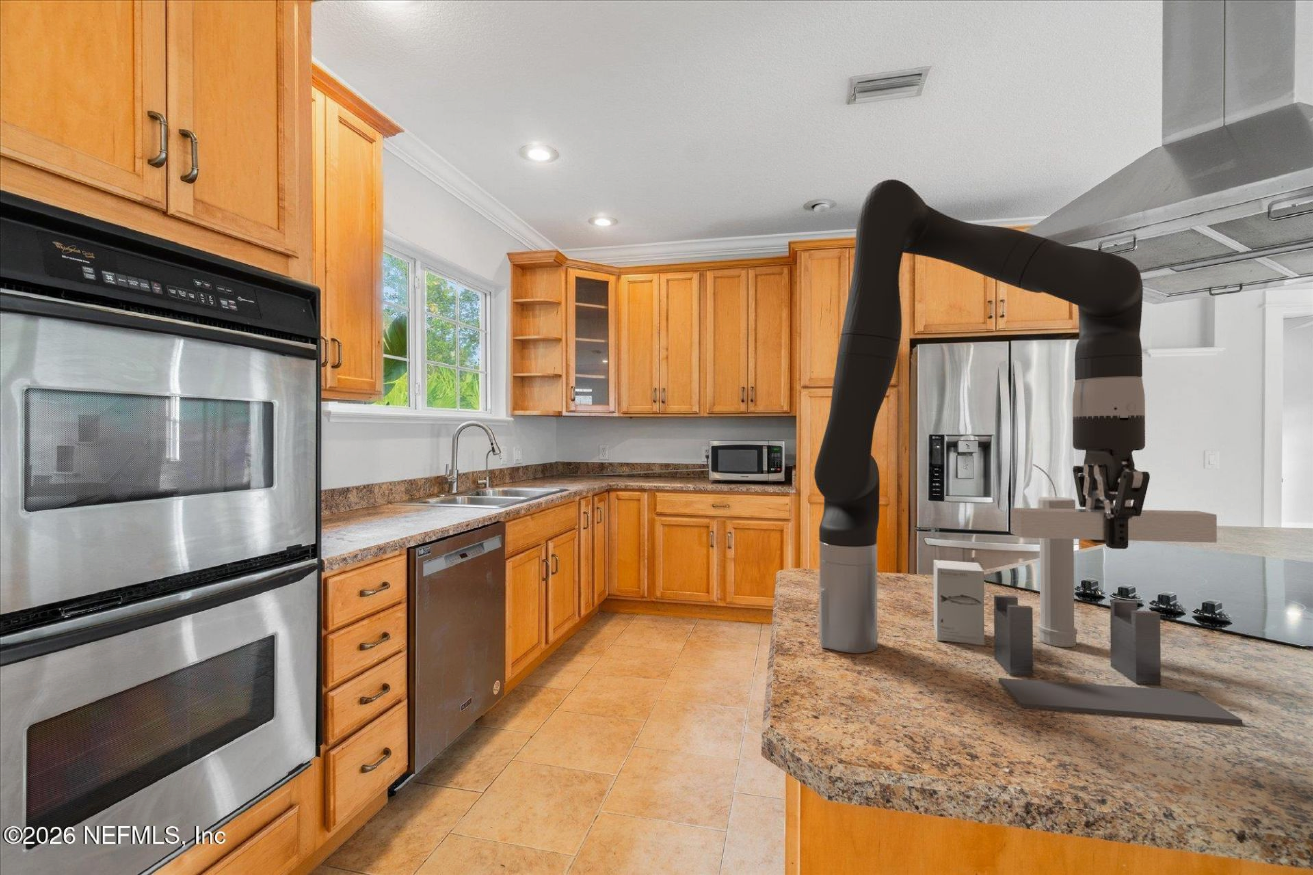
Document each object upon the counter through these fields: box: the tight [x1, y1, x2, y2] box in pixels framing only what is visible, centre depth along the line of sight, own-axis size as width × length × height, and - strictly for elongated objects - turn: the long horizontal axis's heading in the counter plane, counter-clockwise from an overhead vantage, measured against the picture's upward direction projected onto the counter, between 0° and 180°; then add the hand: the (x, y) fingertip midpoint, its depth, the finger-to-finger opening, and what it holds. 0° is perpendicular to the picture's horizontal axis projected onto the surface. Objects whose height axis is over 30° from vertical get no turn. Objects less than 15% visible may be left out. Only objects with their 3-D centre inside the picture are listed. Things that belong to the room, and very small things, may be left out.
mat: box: [998, 677, 1243, 726], centre depth 77 cm, size 24×8×1 cm, turn 78°
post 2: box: [1109, 599, 1162, 686], centre depth 85 cm, size 3×6×10 cm, turn 168°
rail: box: [1010, 507, 1218, 544], centre depth 77 cm, size 22×4×4 cm, turn 78°
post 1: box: [993, 594, 1034, 678], centre depth 88 cm, size 3×6×10 cm, turn 168°
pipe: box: [1032, 463, 1078, 648], centre depth 99 cm, size 6×6×30 cm
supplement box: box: [933, 559, 985, 647], centre depth 102 cm, size 7×7×13 cm
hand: (1108, 544), depth 77 cm, fingers closed on rail, 3 cm apart
